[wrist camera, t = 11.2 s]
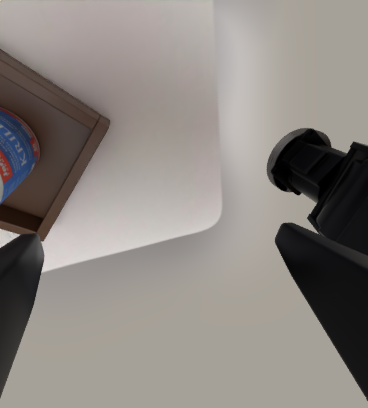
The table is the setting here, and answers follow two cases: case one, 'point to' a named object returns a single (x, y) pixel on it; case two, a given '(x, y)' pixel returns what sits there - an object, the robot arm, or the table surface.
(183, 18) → the table surface
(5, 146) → the pill bottle
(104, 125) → the tray
